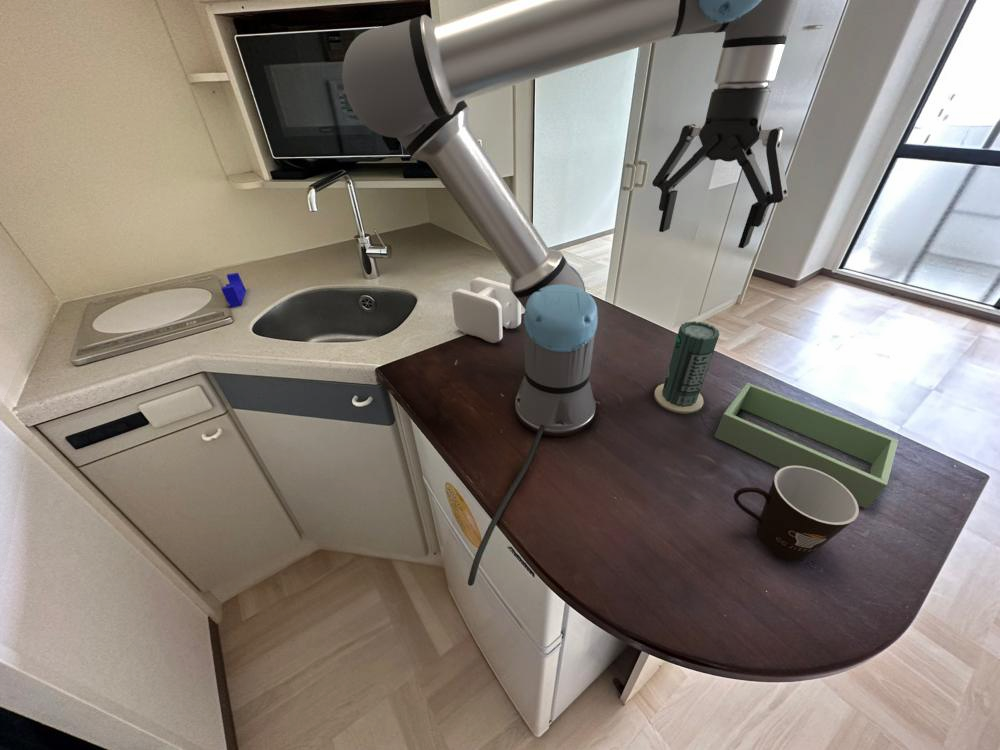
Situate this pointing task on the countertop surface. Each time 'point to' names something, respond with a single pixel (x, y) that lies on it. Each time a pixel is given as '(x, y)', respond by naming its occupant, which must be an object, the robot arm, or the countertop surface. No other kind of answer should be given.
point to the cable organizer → (486, 309)
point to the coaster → (675, 408)
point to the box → (815, 426)
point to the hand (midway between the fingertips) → (701, 237)
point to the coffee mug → (801, 511)
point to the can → (689, 362)
